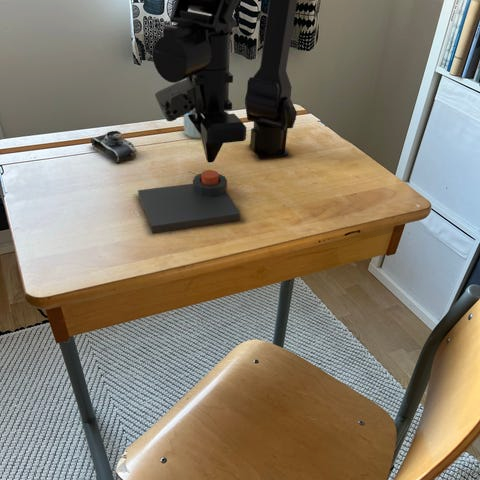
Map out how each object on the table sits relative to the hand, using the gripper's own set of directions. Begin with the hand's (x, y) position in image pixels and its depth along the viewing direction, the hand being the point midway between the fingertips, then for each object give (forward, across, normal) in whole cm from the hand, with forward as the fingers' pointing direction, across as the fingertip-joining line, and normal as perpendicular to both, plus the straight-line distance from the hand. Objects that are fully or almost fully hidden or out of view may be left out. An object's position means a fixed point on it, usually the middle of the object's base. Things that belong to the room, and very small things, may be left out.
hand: (210, 161), depth 88 cm
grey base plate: (+6, +4, -5) cm, 9 cm away
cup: (+6, -26, +5) cm, 28 cm away
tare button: (+4, 0, 0) cm, 4 cm away
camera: (+7, -22, -14) cm, 27 cm away
